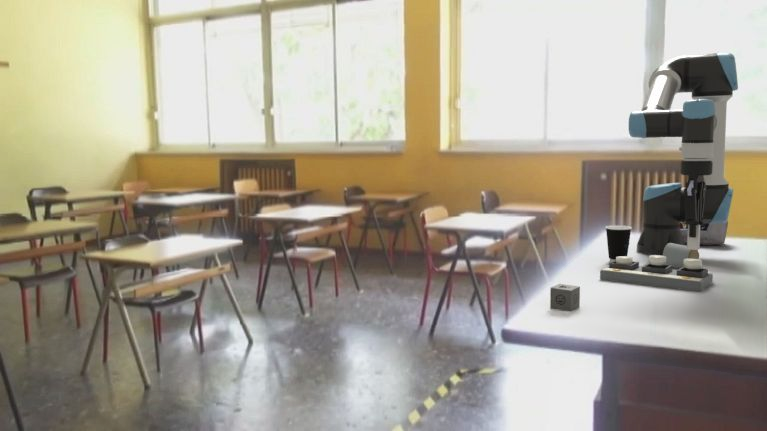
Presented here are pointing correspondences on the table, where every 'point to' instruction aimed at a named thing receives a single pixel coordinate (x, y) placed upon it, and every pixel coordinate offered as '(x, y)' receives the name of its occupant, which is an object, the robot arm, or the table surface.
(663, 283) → the button board
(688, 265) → the button
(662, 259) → the middle button
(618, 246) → the dixie cup
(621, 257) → the button
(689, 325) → the table surface
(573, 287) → the dice cube
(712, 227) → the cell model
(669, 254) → the ceramic mug
